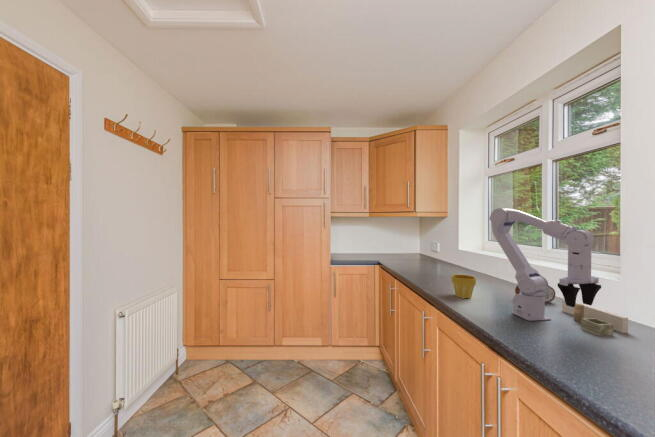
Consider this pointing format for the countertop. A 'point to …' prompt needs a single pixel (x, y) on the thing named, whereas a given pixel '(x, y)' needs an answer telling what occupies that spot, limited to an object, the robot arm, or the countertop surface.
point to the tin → (548, 292)
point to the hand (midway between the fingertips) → (578, 305)
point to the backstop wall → (600, 316)
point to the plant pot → (463, 285)
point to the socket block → (597, 326)
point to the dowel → (578, 312)
